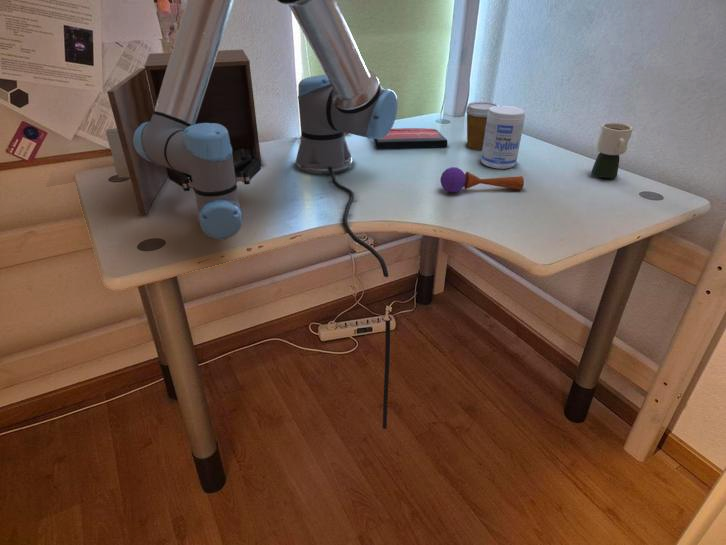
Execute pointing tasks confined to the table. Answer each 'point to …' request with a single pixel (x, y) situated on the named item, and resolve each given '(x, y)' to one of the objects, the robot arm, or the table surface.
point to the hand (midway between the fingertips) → (213, 156)
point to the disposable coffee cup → (477, 123)
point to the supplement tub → (502, 136)
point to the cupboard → (220, 105)
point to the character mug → (611, 148)
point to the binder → (411, 139)
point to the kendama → (475, 180)
